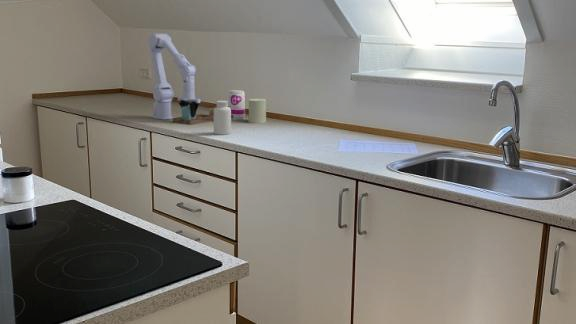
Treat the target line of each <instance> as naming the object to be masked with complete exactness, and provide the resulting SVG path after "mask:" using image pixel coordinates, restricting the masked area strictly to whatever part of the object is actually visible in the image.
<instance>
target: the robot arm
mask: <svg viewBox="0 0 576 324" xmlns="http://www.w3.org/2000/svg"><path fill="white" fill-rule="evenodd" d="M147 41H148V46H149V53H150V59H151V63H152V69H153V74H154V78H155V83H156V84H155V85H154V87H153V88H152V89H153V95H152V96H153V99H154V102H153V104H152V117H151V118H152V119H157V120H171V119H172V120H173V118H176V117H174V116H172V102H173V99H174V97H175V91H174V90H173V89H172V85H171V84H170V83H169V82H168V81H167V75H166V71H165V67H164V60H163V55H162V52H163V50H165V49H166V51H167V52H168V53H169V54H170V56H171V57H172V58H173V63H174V65H176V66H177V68H178V69H179V73H180V76H181V80H182V90H183V91H182V93H183V96H178V97H177V102H178V104H179V106H180V109H182V107H183V106H188V105H189V106H190V109H191V116H192V117H195V115H196V114H197V111H198V107H199V106H200V104H201V103H202V102H201V101H202V99H201V98H197V97H196V96H195V95H196V94H195V89H196V88H195V87H196V86H195V76H196V75H197V73H198V70H197V68H196V65H194V64H191V63H190V62H189V61H188V59H186V56H185V55H184V54H183V53H182V54H181V53H179V51H178V49H177V48H176V47H175V45H174V43H173V42H172V37H171V36H170V35H169V34H168V33H166V32H164V33H153V32H152V33H151V34H150V35H149V37H148V39H147Z"/></svg>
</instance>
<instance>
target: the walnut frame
mask: <svg viewBox="0 0 576 324" xmlns="http://www.w3.org/2000/svg"><path fill="white" fill-rule="evenodd" d="M172 122H173V123H178V124H183V125H191V126H193V125H197V124H204V123H208V122H214V116H213V115H209V114H205V113H196V119H190V120H188V119H182V116H177V117H175V118H172Z"/></svg>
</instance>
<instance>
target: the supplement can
mask: <svg viewBox="0 0 576 324" xmlns="http://www.w3.org/2000/svg"><path fill="white" fill-rule="evenodd" d="M245 97H246V96H245V91H244V90H241V89H233V90H232V89H231V90H229V93H228V100H229V101H228V107H229V108H230V109H231V121H243V120H244V119H245V118H246V100H245V99H246V98H245Z"/></svg>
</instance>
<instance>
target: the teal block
mask: <svg viewBox="0 0 576 324" xmlns="http://www.w3.org/2000/svg"><path fill="white" fill-rule="evenodd" d="M181 117H182V119H188V120H190V119H196V115H195V117H192V116H191V109H190V105H188V106H183V107H182V108H181Z"/></svg>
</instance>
